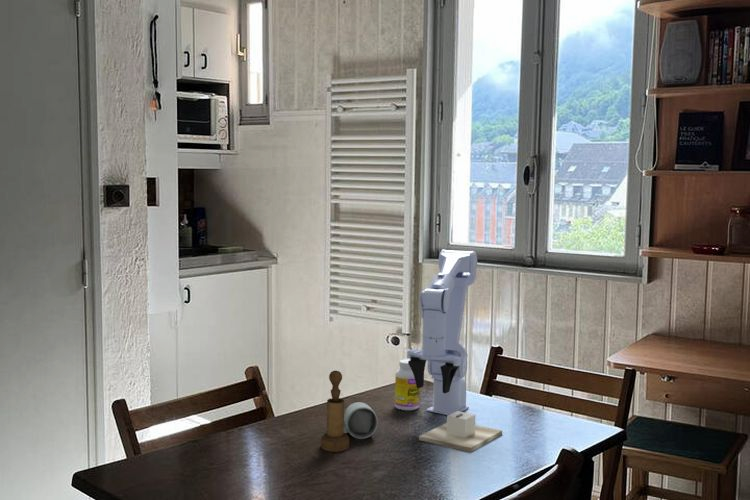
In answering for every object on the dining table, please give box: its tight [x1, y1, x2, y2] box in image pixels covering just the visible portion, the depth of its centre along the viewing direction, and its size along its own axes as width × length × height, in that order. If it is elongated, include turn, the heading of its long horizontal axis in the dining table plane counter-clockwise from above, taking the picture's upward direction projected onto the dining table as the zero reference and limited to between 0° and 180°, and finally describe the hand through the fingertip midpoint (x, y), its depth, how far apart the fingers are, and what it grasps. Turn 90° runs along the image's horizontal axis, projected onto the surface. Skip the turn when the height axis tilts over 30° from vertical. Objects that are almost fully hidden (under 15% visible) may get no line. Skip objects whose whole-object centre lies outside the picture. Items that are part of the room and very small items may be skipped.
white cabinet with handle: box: [446, 411, 476, 438], centre depth 199 cm, size 5×5×5 cm
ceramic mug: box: [343, 401, 379, 440], centre depth 201 cm, size 11×8×8 cm
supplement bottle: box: [394, 358, 421, 411], centre depth 223 cm, size 7×7×13 cm
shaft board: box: [418, 422, 503, 453], centre depth 199 cm, size 16×14×4 cm
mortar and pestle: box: [320, 370, 350, 453], centre depth 190 cm, size 7×6×18 cm
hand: (432, 389), depth 207 cm, fingers open, 7 cm apart
